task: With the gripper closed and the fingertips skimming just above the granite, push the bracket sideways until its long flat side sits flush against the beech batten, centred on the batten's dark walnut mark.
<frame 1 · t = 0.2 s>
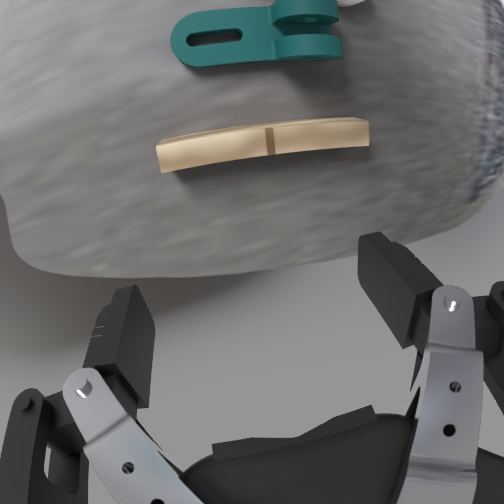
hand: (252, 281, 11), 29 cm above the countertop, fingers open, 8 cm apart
bracket: (250, 36, 30), on the countertop
batten: (262, 135, 36), on the countertop
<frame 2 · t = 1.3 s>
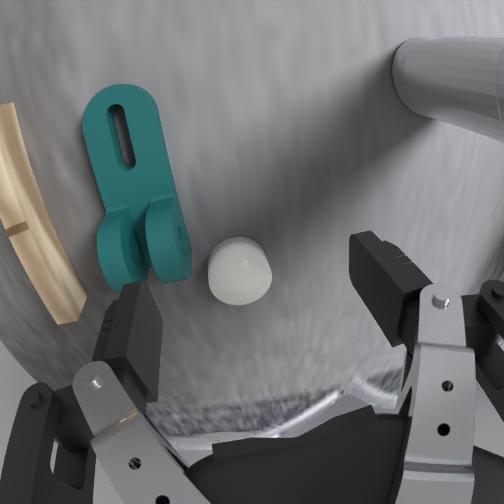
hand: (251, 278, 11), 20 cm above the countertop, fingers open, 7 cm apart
rounded smooth part: (236, 262, 34), on the countertop
bracket: (137, 174, 28), on the countertop
batten: (35, 210, 27), on the countertop
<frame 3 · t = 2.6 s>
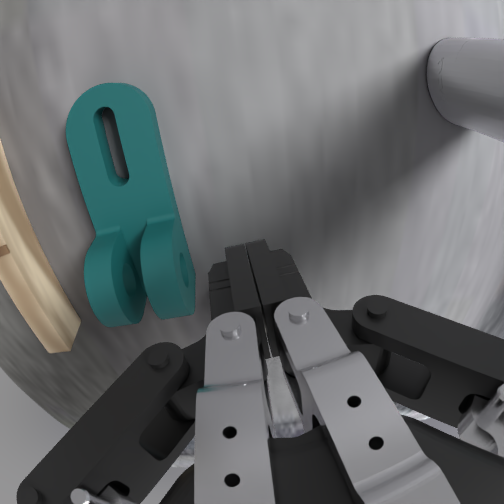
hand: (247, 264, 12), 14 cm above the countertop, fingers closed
bracket: (132, 189, 24), on the countertop
batten: (20, 228, 23), on the countertop
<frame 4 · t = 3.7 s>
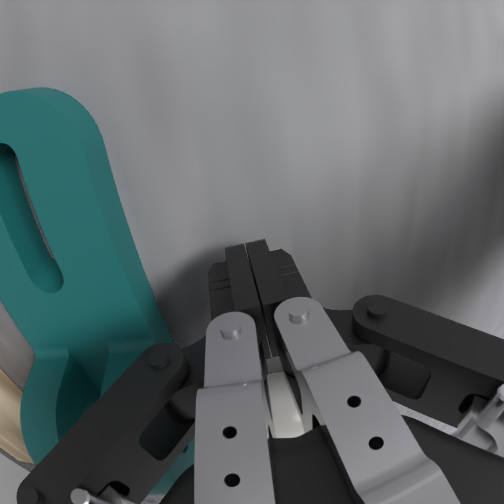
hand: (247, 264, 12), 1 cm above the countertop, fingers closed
rounded smooth part: (273, 398, 19), on the countertop
bracket: (82, 279, 13), on the countertop
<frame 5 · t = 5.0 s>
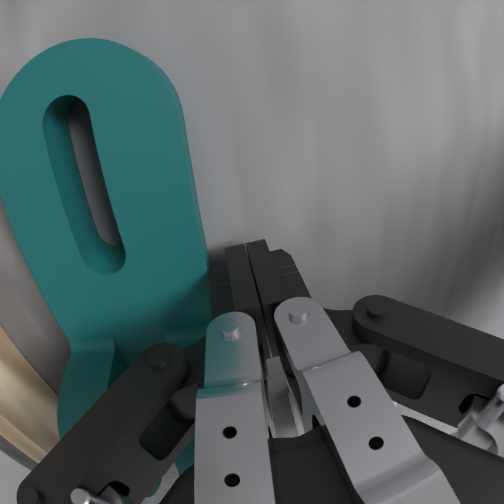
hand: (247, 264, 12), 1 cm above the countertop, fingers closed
bracket: (131, 263, 13), on the countertop, touching gripper
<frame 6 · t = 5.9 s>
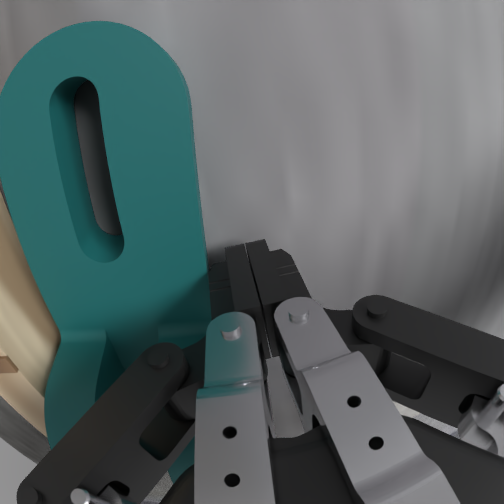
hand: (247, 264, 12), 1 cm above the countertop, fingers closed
bracket: (128, 254, 12), on the countertop, touching gripper
batten: (26, 296, 12), on the countertop
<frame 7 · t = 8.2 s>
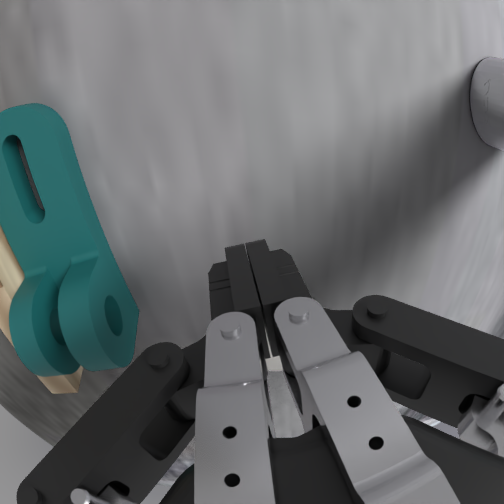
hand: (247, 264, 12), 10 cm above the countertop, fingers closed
bracket: (58, 222, 19), on the countertop
batten: (12, 251, 19), on the countertop
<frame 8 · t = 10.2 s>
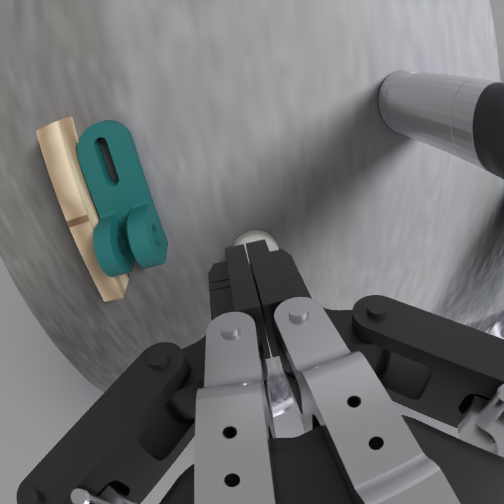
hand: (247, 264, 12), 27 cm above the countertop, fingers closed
rounded smooth part: (254, 250, 43), on the countertop
bracket: (122, 187, 36), on the countertop
batten: (89, 206, 36), on the countertop
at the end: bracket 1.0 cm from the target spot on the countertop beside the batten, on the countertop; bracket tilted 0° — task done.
